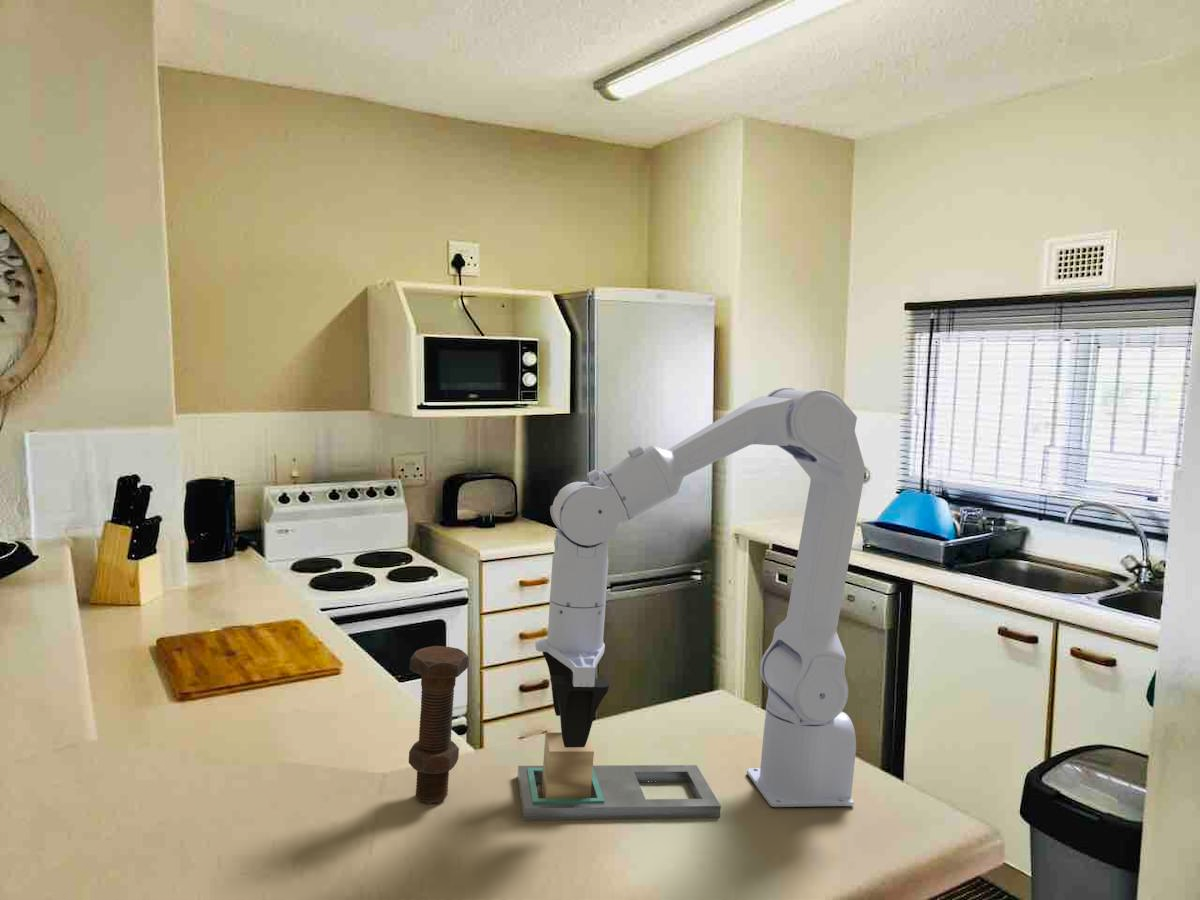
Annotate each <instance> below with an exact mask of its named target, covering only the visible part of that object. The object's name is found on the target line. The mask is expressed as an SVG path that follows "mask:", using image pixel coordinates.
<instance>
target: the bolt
mask: <svg viewBox="0 0 1200 900" xmlns="http://www.w3.org/2000/svg"><path fill="white" fill-rule="evenodd" d="M469 658H470V657H469V655H468V654H467V653H466V652H465V651H464V650H462V649H460V648H457V647H452V646H443V645H433V646H427V647H423V648H420V649H417V650H415V652H414V653H413V654H412V656H411V657H410V659H409V671H411V672H413V673H415V674H417V675H419V676H421V677H420V678H421V679H420V683H421V684H420V685H421V691H420V694H421V696H420V700H421V701H420V713H419V714H420V717H419V719H420V720H419V731H418V732H419V733H418V740H416V742H414V744H413V745H412V746H411V748H410V750H409V752H408V764H409V765H410V766H411V767H412V768H413V769H414V770H415V771H416V783H415V784H416V785H415V786H416V787H415V798H416V799H417V800H419V802H422V803H427V804H437V803H441V802H443V801H444V800H445V799H446V798H447V796H448V795H449V794H448V793H449V776H450V773H449V772H450V771H451V770H452V769H453V768H454V767H455V766H456V765H457V762H458V760H459V753H460V752H459V751H460V748H459V747H458V745H457V744H456V743H455V742H454V741H452V727H453V725H452V724H453V712H454V697H455V696H454V695H455V693H454V692H455V687H456V681H457V680H456V679H457V678H458V677H459V676H460V675H461V674H462V673H464V672H465V671H466V670H468V668H469Z"/></svg>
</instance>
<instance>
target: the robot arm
mask: <svg viewBox="0 0 1200 900" xmlns="http://www.w3.org/2000/svg"><path fill="white" fill-rule="evenodd" d="M857 419H858V418H857V415H856V414H855V413H854V412H853V409H851V408H850V407H849V406H848V405H847V404H846V402H845V401H844V400H843V399H842V397H840V396H839V395H837V393H835V392H832V391H830V390H827V389H814V390H809V389H808V390H806V389H805V390H804V389H795V388H792V387H781V388H777V389H774V390H772V391H771V392H770V393H768V394H767V395H762V396H759V397H757V398H752V399H751V400H749V401H748V402H747V403H744V404H743V405H741V406H740V407H737V408H736V409H734V410H732V411H731V412H729V413H727V414H726V415H723V417H720V418H719V419H717V420H716V421H714V422H712V423H710V424H709V425H707V426H705V427H703V428H702V429H700V430H699V431H697V432H695V433H694V434H692V435H689V437H687V438H685V439H683V440H682V441H680V442H678V443H677V444H675V445H673V446H672V447H669V448H668V449H665V448H661V447H659V446H657V445H648V446H646V447H644V448H643V446H641V445H635V446H633V447H631V448H629V449H628V450H627V453H628V455H629V456H628V457H625V458H623V459H622V460H620V461H618V462H616V463H614V464H612V465H610V466H608V467H606V468H605V469H603V470H600V471H598V470H597V469H593V470H591V471H589V472H588V473H587V477H588V481H589V482H586V481H573V482H571V483H568V484H566V485H565V486H563V487H562V488H561V489H559V491H558V492H557V494H556V496H555V497H554V500H553V503H552V505H550V507H549V511H550V516H551V519H552V522H553V523H554V525H555V526H556V528H558V529H556V530H555V537H554V540H553V541H554V542H553V546H554V552H553V554H552V559H551V562H552V563H551V575H550V576H551V577H550V593H549V609H548V610H549V611H548V623H547V624H548V625H547V638H541V639H539V638H538V639H536V640H535V645H534V646H535V650H536V651H537V652H541V653H542V655H543V657H544V659H545V662H546V664H547V667H548V672H549V680H550V683H551V684H550V685H551V694H552V703H553V709H554V713H555V716H556V717H557V716H559V717H560V730H561V732H560V733H562V739H563V743H564V747H585V745H586V742H587V739H588V736H589V737H590V734H591V733H590V732H591V728H592V726H593V722H594V719H595V716H596V713H597V710H598V709H599V706H600V705H601V702H602V700H603V699H604V698H605V696H606V695H607V694H608V691H609V689H610V683H609V681H608V678H596V667H597V666H598V664H599V662H600V661H601V658H602V657H603V655H604V653H605V650H606V645H605V642H604V634H605V632H604V631H605V619H606V606H607V605H606V603H607V602H606V601H607V586H608V575H609V574H608V573H609V572H608V571H609V561H610V560H609V557H608V556H609V555H608V554H609V546H610V545H609V542H610V539H612V538H613V536H614V535H615V533H616V532H617V529H618V526H619V525H620V523H623V524H625V523H626V522H628V521H630V520H631V519H634V518H636V517H637V516H639V515H642V514H643V513H644V512H646V511H649V510H650V509H652V508H654V507H655V506H656V507H657V505H660V504H661V503H663V502H665V501H667V500H669V499H671V498H673V497H674V496H676V495H677V494H678V493H679V490H680V487H681V484H682V482H683V480H684V479H685V477H687V476H689V475H690V474H692V473H695V472H696V471H698V470H701V469H704V468H705V467H707V466H709V465H711V464H714V463H715V462H717V461H720V460H722V459H724V458H726V457H728V456H730V455H732V454H735V453H736V452H738V451H741V450H742V449H744V448H747V447H750V446H752V445H760V446H761V445H762V446H763V445H764V446H777V447H779V448H781V449H782V450H784V451H785V452H786V453H788V454H789V455H791V456H792V457H793V458H794V460H795V461H796V462H797V463H798V464H799V466H800V467H801V468H802V470H804V472H805V473H806V474H807V476H808V477H809V479H810V481H809V488H808V493H807V500H806V505H805V511H804V517H803V520H802V521H803V522H802V528H801V534H800V538H799V545H798V551H797V557H796V561H795V562H796V563H795V568H794V573H793V580H792V583H791V590H790V596H789V597H790V598H789V602H788V608H787V613H786V618H785V619H784V620H783V621H781V622H780V623H779V624H778V625H777V626H776V627H775V629H774V630H773V637H772V640H771V643H770V645H769V646H768V648H767V649H766V650H765V652H764V654H763V655H762V657H761V660H760V665H759V666H760V667H759V670H760V676H761V679H762V681H763V683H764V684H765V686H767V687H768V690H767V691H768V692H767V699H766V707H765V716H764V717H765V718H764V727H763V736H762V749H761V757H760V758H761V760H760V767H750V768H747V769H746V774H747V775H748V776H749V778H750V779H751V781H752V782H753V784H754V785H755V786H756V788H757V790H758V791H759V792H760V794H761V796H763V798H764V799H765V801H766V802H767V804H768V805H769V806H770V807H773V808H785V807H787V808H789V807H793V808H795V807H799V808H800V807H803V808H804V807H853V806H855V805H854V804H855V801H854V799H853V798H852V794H853V791H852V790H853V783H854V771H855V762H856V752H857V739H856V737H857V736H856V731H855V727H854V724H853V722H852V719H851V718H850V717H849V715H848V714H847V713H846V712H844V711H843V710H844V708H845V706H846V704H847V702H848V698H849V685H848V682H847V679H846V673H845V672H846V671H845V669H846V662H847V656H846V653H845V650H844V648H843V644H842V642H841V640H840V637H839V634H838V631H837V630H838V624H839V619H840V613H841V608H842V602H843V597H844V593H845V591H844V590H845V585H846V580H847V575H848V569H849V568H848V567H849V564H850V563H849V562H850V558H851V552H852V547H853V540H854V535H855V530H856V524H857V518H858V513H859V509H860V508H859V507H860V502H861V499H862V497H861V496H862V491H863V485H864V480H865V475H866V474H865V473H866V472H865V471H866V467H865V463H864V458H863V455H862V451H861V448H860V444H859V442H858V438H857V434H856V431H855V430H856V426H857Z"/></svg>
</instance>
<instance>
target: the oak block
mask: <svg viewBox="0 0 1200 900" xmlns="http://www.w3.org/2000/svg"><path fill="white" fill-rule="evenodd" d="M544 735H545V736H544V748H543V749H544V750H543V764H542V766H543V776H542V783H541V789H543V791H542V795H544V796H543V798H592V795H591V784H592V771H593V766H594V757H595V756H594V755H595V751H594V747H593V745H592V742H591V738H590V735H589V736H588V739H587V742H586V745H585V747H564V743H563V739H562V732H545V734H544Z"/></svg>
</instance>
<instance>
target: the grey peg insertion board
mask: <svg viewBox="0 0 1200 900" xmlns="http://www.w3.org/2000/svg"><path fill="white" fill-rule="evenodd" d="M542 776H543V765H518V767H517V782H518V789H519V796H520V805H521V810H522V811H521V813H522V819H523V821H543V820H544V821H545V820H546V821H549V820H550V821H553V820H554V821H555V820H557V821H558V820H559V821H560V820H562V821H565V820H566V821H567V820H616V819H617V820H619V819H622V820H623V819H628V820H629V819H630V820H631V819H687V818H688V819H691V818H693V819H696V818H697V819H699V818H700V819H701V818H703V819H704V818H721V807H722V806H721V804H720V802H719V800H718V799H717V797H716V795H715V794H714V792H713V790H712V788H711V786H710V785H709V783H708V782H707V780H706V779H705V777H704V775H703V774H702V772H701V770H700V768H699V767H698V765H697V764H692V765H691V764H689V765H688V764H685V765H684V764H681V765H680V764H679V765H677V764H662V765H661V764H660V765H659V764H654V765H653V764H651V765H650V764H648V765H646V764H645V765H644V764H643V765H640V764H639V765H637V764H636V765H632V764H631V765H629V764H628V765H616V764H615V765H609V764H607V765H603V764H602V765H593V771H592V784H591V797H590V798H544V797H543V798H539V795H538V794H539V793H538V789H537V784H541V783H540V782H542ZM648 781H649V782H648ZM651 781H652V782H651ZM655 781H656V782H655ZM640 783H686V784H687V785H688V788H689V789H690V792H691V794H692V796H693V797H694V798H658V799H657V798H656V799H655V798H654V799H653V798H649V799H647V798H646V796H645V794H644V792H643V789H642V788H641V785H640Z"/></svg>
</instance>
